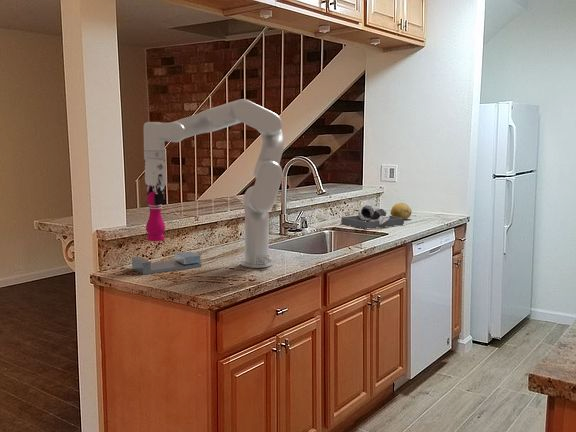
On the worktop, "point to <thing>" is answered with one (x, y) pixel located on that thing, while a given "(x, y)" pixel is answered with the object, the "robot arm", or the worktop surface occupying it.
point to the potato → (401, 210)
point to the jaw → (187, 257)
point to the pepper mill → (154, 220)
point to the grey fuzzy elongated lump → (373, 214)
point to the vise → (159, 266)
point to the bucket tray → (371, 222)
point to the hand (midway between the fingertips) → (155, 203)
